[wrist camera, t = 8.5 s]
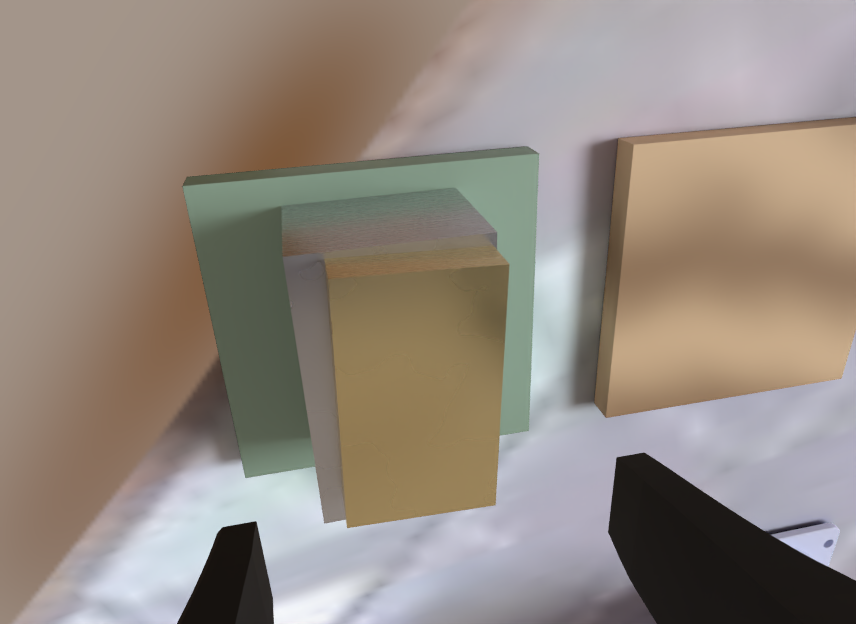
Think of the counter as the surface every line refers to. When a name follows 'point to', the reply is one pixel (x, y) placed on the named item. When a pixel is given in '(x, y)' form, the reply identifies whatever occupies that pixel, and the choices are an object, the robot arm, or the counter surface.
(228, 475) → the counter surface
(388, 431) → the cover
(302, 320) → the base
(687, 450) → the counter surface
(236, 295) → the stand
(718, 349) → the stand
